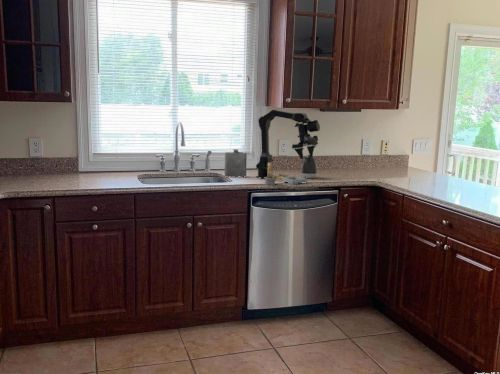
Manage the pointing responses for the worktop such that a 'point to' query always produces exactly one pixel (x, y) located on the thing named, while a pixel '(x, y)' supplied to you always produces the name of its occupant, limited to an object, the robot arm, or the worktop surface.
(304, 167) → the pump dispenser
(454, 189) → the worktop surface
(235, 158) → the flask
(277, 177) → the slot board
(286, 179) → the tray
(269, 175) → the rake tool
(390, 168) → the worktop surface
